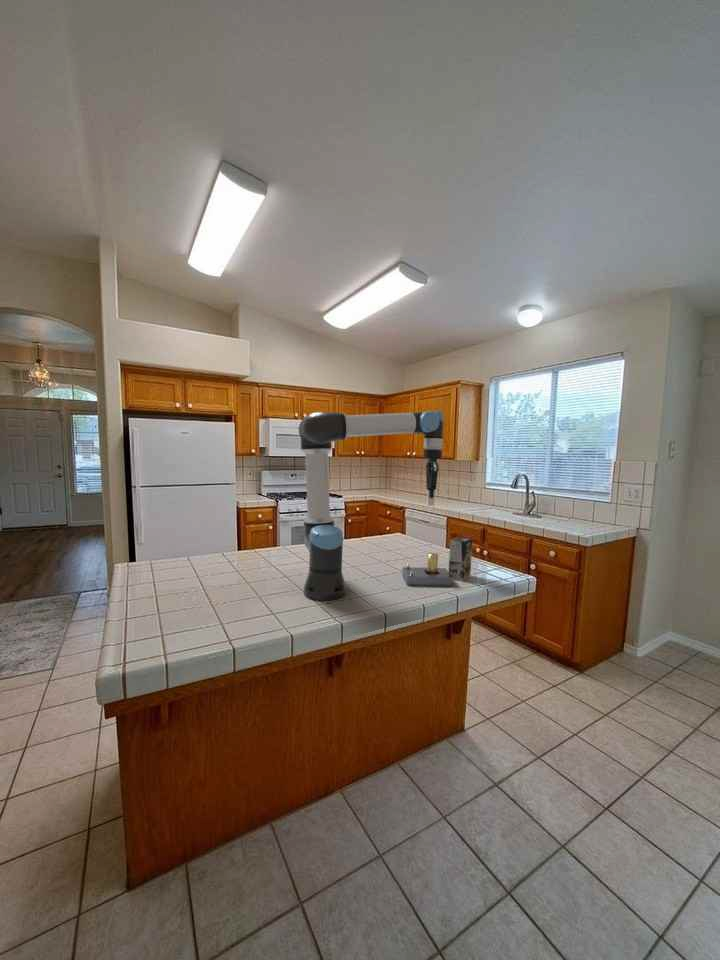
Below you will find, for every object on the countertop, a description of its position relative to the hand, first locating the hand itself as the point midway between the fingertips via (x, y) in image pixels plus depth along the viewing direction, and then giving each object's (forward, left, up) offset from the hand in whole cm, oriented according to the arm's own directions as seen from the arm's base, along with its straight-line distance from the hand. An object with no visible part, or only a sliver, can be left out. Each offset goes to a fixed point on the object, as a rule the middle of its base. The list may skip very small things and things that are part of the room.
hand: (430, 505), depth 162 cm
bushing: (0, -8, -30) cm, 31 cm away
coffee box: (+13, -3, -30) cm, 33 cm away
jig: (-2, -8, -29) cm, 31 cm away
